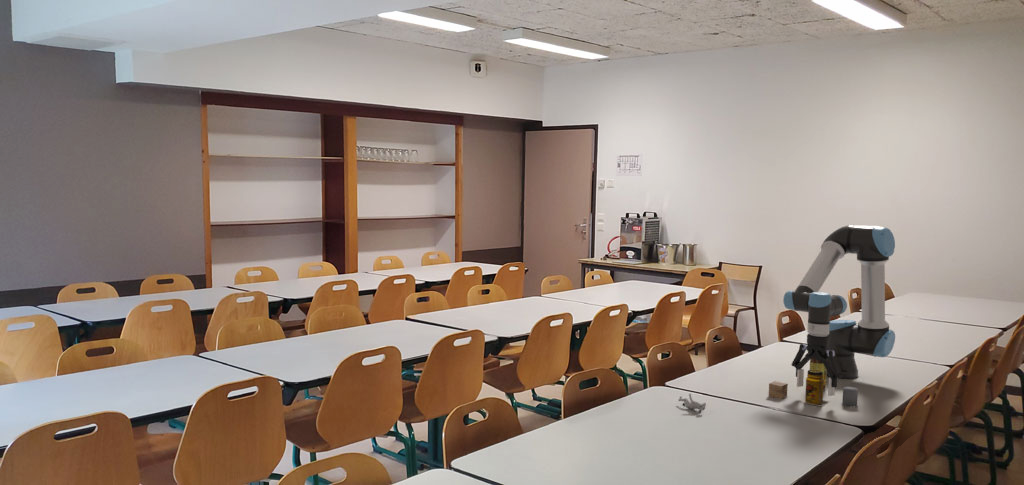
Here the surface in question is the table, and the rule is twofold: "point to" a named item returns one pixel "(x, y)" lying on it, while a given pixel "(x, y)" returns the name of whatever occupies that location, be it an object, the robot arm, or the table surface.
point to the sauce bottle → (819, 368)
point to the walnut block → (778, 389)
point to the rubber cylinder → (850, 396)
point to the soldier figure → (692, 403)
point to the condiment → (814, 388)
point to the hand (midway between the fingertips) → (815, 390)
